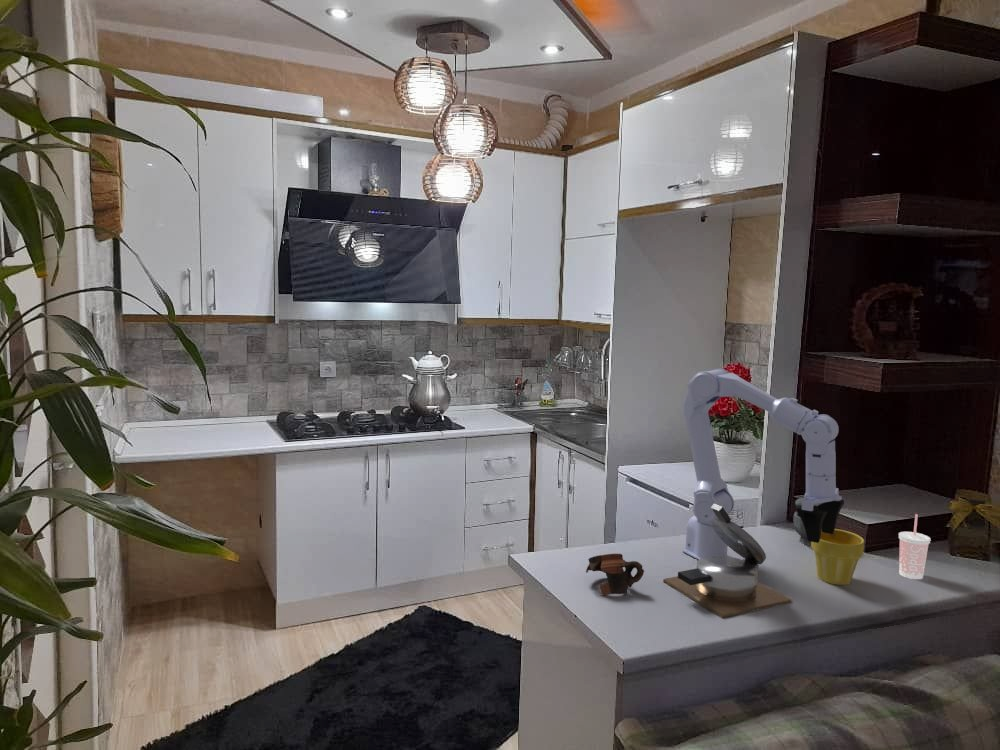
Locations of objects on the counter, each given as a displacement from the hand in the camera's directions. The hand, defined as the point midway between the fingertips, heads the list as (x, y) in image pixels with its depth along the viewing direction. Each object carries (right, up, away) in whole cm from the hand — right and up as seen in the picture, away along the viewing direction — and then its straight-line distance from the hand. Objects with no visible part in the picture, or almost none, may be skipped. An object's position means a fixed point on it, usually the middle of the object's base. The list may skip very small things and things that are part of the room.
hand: (820, 537), depth 148 cm
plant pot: (+5, -11, +5) cm, 13 cm away
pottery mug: (-44, -11, -1) cm, 45 cm away
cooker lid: (-20, +1, -3) cm, 20 cm away
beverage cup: (+24, -11, +8) cm, 27 cm away
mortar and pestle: (+10, -8, +27) cm, 30 cm away
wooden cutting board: (-21, -11, -2) cm, 24 cm away
